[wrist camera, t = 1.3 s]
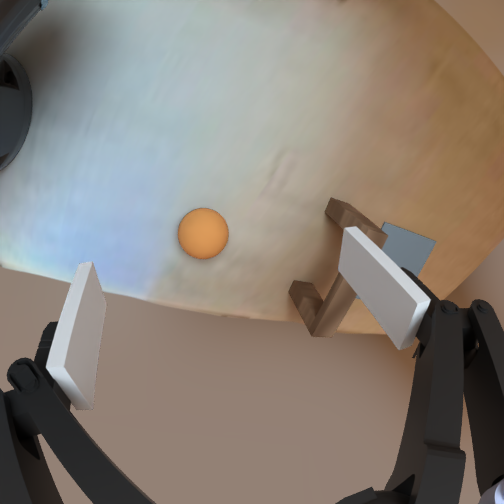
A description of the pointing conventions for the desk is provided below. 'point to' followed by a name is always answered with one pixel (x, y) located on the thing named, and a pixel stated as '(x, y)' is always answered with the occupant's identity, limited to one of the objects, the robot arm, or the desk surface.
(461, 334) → the robot arm
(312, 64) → the desk surface
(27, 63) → the desk surface
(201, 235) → the ball
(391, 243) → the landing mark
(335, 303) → the bridge
